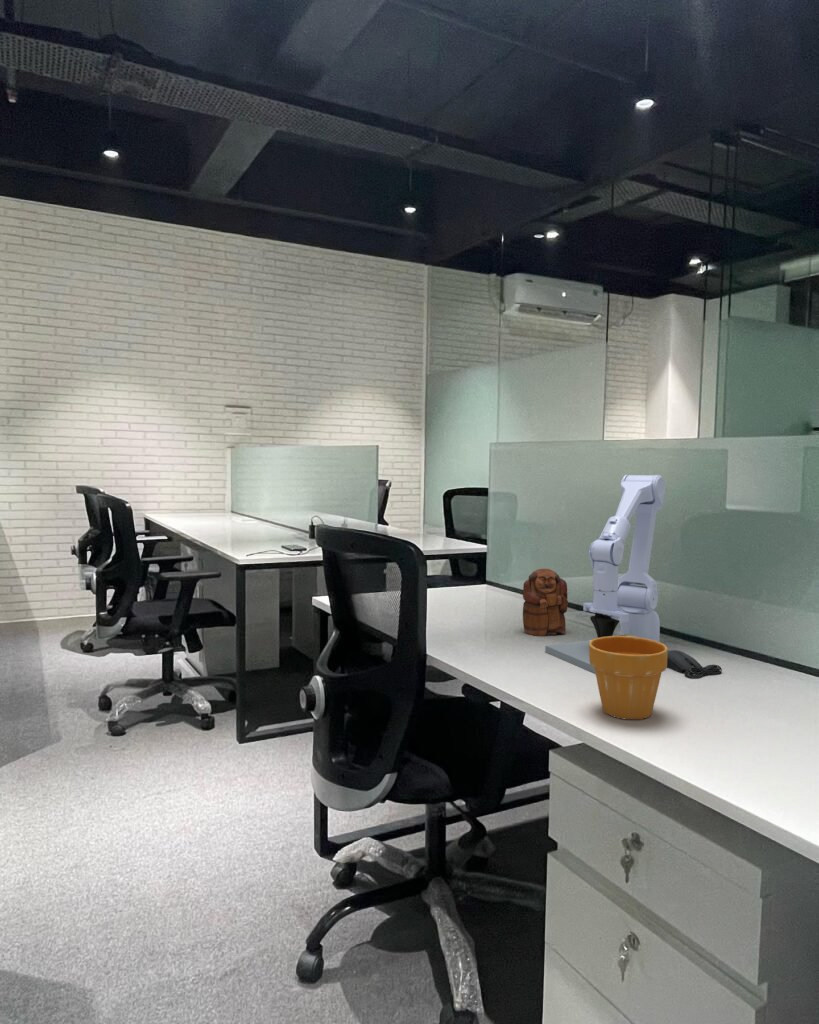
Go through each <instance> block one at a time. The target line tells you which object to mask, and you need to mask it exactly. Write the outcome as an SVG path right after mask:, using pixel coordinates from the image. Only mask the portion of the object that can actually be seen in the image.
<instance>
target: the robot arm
mask: <svg viewBox="0 0 819 1024" xmlns="http://www.w3.org/2000/svg"><path fill="white" fill-rule="evenodd" d="M619 488H620V495H621V499H620V501H619V504H618V506H617V510H616V512H615V515H613V516H611V517H609V518H608V519H607V522H606V523H605V525H604V528H603V530H602V531H601V533H600V536H599V537H598V539H595V540H594V541H593V542H591V544H590V546H589V551H588V557H589V561H590V568H591V571H593V572H592V573H593V574H592V575H593V576H592V577H593V578H592V581H593V582H592V602H583V604H582V605H583V608H582V609H583V610H582V611H584V612H591V613H593V614H594V615H591V616H589V618H590V621H591V623H592V625H593V627H594V629H595V632H596V636H597V637H596V638H600V637H607V636H614V633H615V630H616V628H617V626H618V625H619V624H620V633H619V634H620V635H619V636H621V634H633V635H636V637H639V638H645V639H650V640H654V641H657V642H660V635H661V634H660V633H661V632H660V631H661V628H660V627H661V625H660V624H661V621H660V616H659V614H658V613H657V612H656V611H655V610H656V608H657V605H658V602H659V595H658V583H657V581H656V580H655V579H654V578H653V577H652V576H651V575H650V574H649V570H650V564H651V563H650V561H651V555H652V547H653V541H654V534H655V529H656V528H655V527H656V525H655V524H656V519H657V513H658V511H660V510H662V509H663V508H664V507H663V506H664V502H665V496H666V484H665V479H664V477H663V476H662V475H660V474H655V475H649V474H647V475H645V474H642V475H639V474H636V475H635V474H624V476H623V477H622V479H621V481H620V486H619ZM635 513H636V515H635V521H634V522H635V523H634V528H633V535H632V543H631V549H630V557H629V564H628V570H627V572H625V573H624V574H622V575H621V576H619V565H620V564H621V562H622V561H623V557H624V550H625V541H626V540H627V538H628V536H629V533H630V531H631V528H632V527H631V524H630V520H631V518H632V517H633V516H634V514H635Z"/></svg>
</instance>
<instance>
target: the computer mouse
mask: <svg viewBox="0 0 819 1024" xmlns="http://www.w3.org/2000/svg"><path fill="white" fill-rule="evenodd" d="M666 669H669V670H673V671H675V672H677V673H680V674H681V673H684V674H683V675H684V676H685V678H687V679H695V680H696V679H698V678H700V677H702V676H703V677H706V676H707V677H708V675H709V676H717V675H718V676H719V675H721V674H722V671H723V669H722V667H721V666H720V665H719V664H708V665H705V666H702V665H701V664H700V662H698V660H696V659H695V658H694V657H693V656H691V655H689V654H687V653H685V652H683V651H681V650H677V649H671V650H669V649H668V655H667V668H666Z"/></svg>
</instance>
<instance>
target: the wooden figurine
mask: <svg viewBox="0 0 819 1024" xmlns="http://www.w3.org/2000/svg"><path fill="white" fill-rule="evenodd" d="M567 584H568V583H567V581H566V580H564V579H563V578H561V577H560V576H559V574H557V572H556V571H554V570H553V569H549V568H539V569H536V570H535V571H533V572H531V574H529V575H528V578H527V580H525V581H524V582H523V591H522V597H523V598H522V599H523V603H522V605H523V606H522V623H523V624H522V625H523V630H524V633H525V634H526V635H530V636H537V637H546V636H557V635H566V630H567V629H566V627H567V626H566V617H565V613H567V611H568V605H569V604H568V603H569V601H568V585H567Z"/></svg>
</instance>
